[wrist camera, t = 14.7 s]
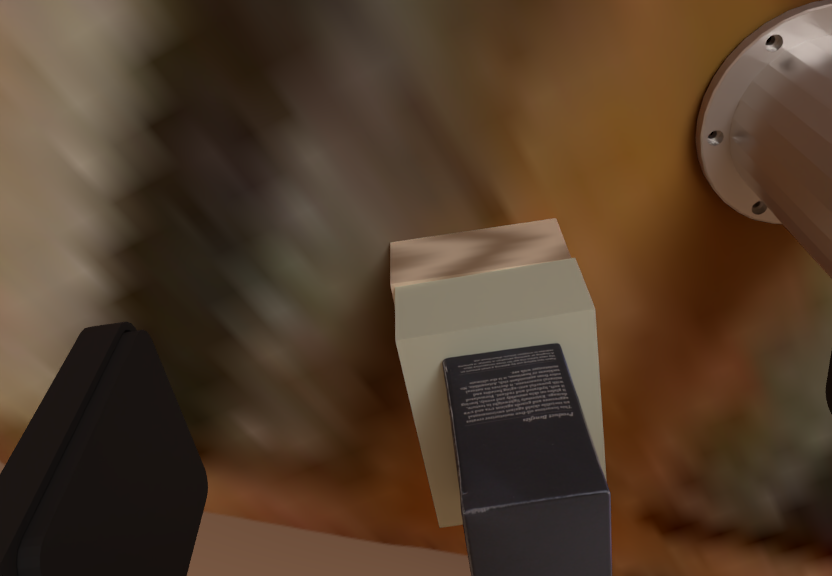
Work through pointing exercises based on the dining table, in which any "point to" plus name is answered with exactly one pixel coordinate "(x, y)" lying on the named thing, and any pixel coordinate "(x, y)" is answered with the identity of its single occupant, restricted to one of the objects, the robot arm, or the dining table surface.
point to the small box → (526, 466)
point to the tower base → (475, 252)
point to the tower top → (490, 349)
